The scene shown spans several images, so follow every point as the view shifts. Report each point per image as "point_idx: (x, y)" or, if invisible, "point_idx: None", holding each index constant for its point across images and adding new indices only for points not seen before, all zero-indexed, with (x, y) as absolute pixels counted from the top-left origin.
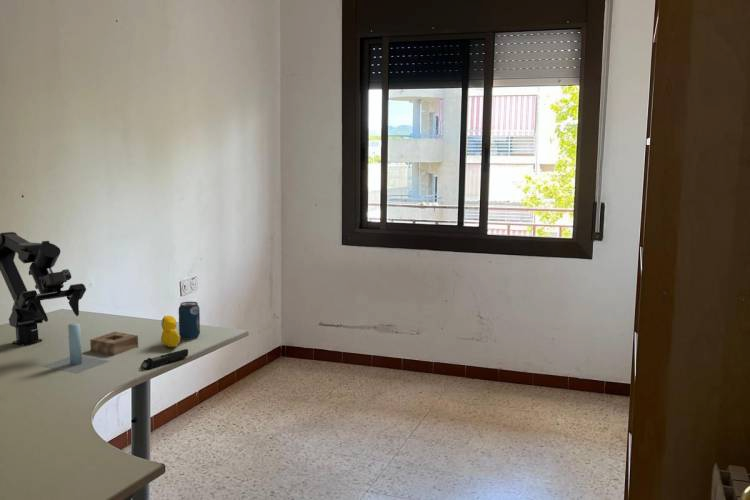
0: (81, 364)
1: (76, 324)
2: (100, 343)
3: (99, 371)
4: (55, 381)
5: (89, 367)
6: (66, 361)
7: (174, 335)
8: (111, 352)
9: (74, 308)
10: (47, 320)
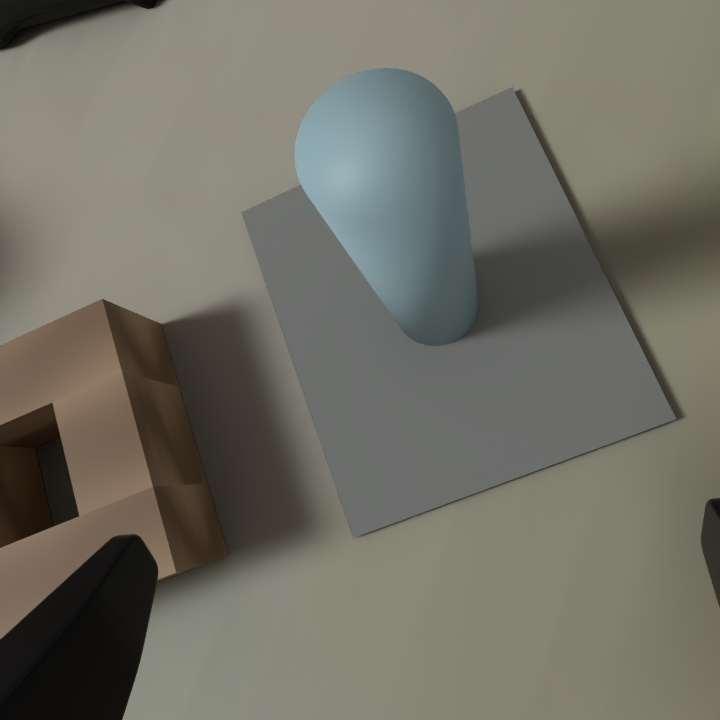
0: None
1: (345, 136)
2: (153, 448)
3: None
4: (684, 31)
5: None
6: (474, 405)
7: None
8: (156, 345)
9: (66, 707)
10: (717, 502)
